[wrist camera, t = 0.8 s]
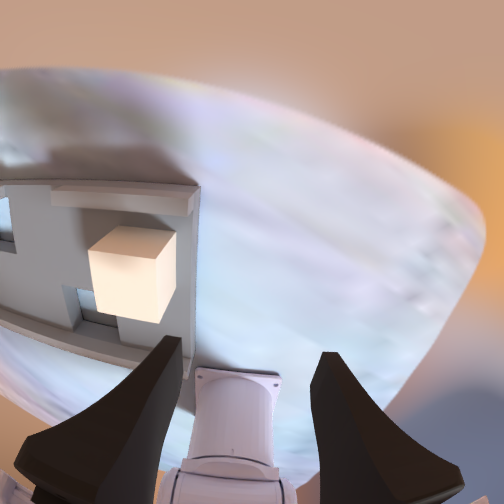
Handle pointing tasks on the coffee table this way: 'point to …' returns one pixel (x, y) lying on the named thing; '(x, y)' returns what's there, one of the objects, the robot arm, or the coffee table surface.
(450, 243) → the coffee table surface
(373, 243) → the coffee table surface
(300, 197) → the coffee table surface
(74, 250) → the board
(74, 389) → the coffee table surface
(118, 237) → the block
